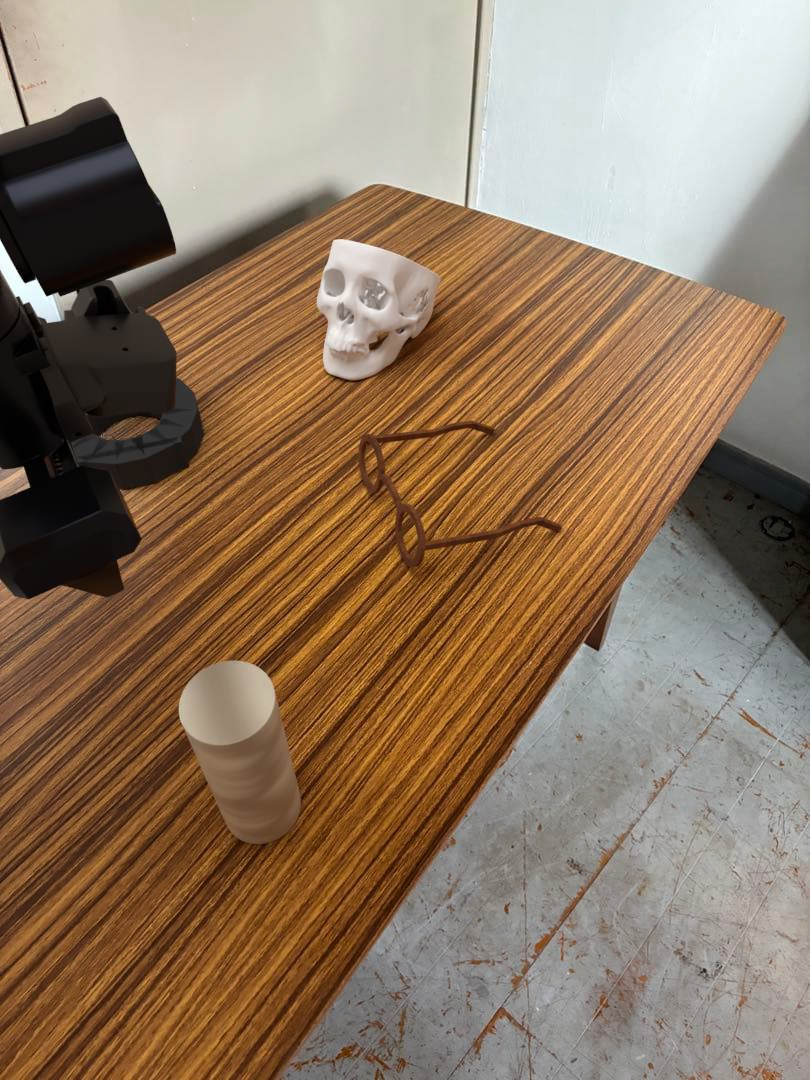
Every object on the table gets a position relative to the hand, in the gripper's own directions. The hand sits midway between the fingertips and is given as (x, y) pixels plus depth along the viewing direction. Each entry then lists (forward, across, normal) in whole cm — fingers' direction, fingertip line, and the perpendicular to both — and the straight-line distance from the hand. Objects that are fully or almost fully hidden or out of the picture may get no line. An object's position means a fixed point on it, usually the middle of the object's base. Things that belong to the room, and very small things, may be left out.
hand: (94, 538), depth 49 cm
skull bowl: (+16, +25, -30) cm, 42 cm away
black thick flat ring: (+13, +22, -4) cm, 26 cm away
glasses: (+15, +2, -26) cm, 30 cm away
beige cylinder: (+12, -15, -2) cm, 19 cm away
